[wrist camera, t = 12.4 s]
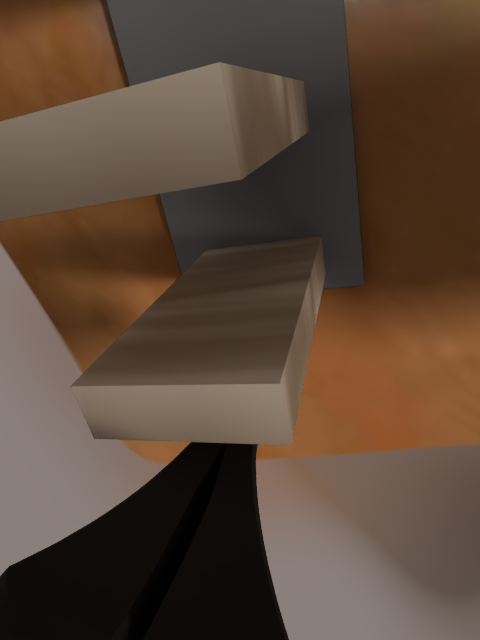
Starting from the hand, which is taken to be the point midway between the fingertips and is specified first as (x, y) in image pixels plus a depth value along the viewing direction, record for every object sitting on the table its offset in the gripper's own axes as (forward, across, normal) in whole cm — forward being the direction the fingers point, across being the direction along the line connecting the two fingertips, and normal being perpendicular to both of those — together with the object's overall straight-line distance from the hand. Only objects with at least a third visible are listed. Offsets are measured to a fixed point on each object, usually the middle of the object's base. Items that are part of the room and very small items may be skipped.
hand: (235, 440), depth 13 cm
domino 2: (+7, +1, -3) cm, 8 cm away
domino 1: (+7, +2, -8) cm, 11 cm away
